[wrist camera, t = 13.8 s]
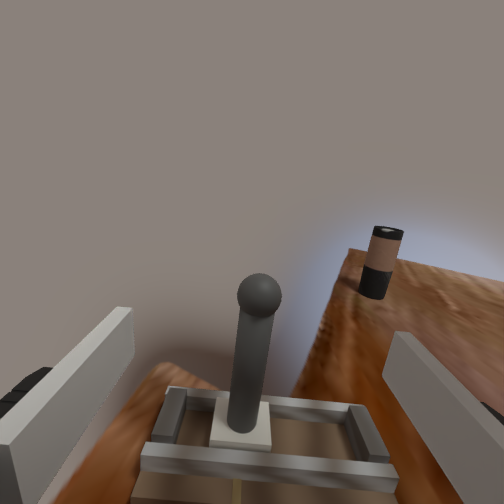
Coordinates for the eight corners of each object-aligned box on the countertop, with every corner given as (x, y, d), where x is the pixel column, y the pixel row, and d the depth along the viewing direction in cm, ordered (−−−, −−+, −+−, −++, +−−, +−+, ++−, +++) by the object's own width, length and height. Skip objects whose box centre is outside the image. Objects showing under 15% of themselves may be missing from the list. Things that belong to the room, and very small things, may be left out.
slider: (265, 418, 30) (291, 269, 25) (268, 463, 25) (301, 290, 20) (215, 413, 30) (230, 262, 25) (208, 458, 25) (225, 282, 20)
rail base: (350, 413, 34) (358, 385, 33) (400, 531, 23) (415, 496, 22) (172, 395, 34) (173, 367, 32) (130, 508, 22) (130, 471, 21)
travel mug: (375, 289, 80) (393, 227, 75) (390, 301, 73) (410, 232, 67) (352, 287, 79) (368, 224, 74) (365, 299, 72) (383, 229, 67)
